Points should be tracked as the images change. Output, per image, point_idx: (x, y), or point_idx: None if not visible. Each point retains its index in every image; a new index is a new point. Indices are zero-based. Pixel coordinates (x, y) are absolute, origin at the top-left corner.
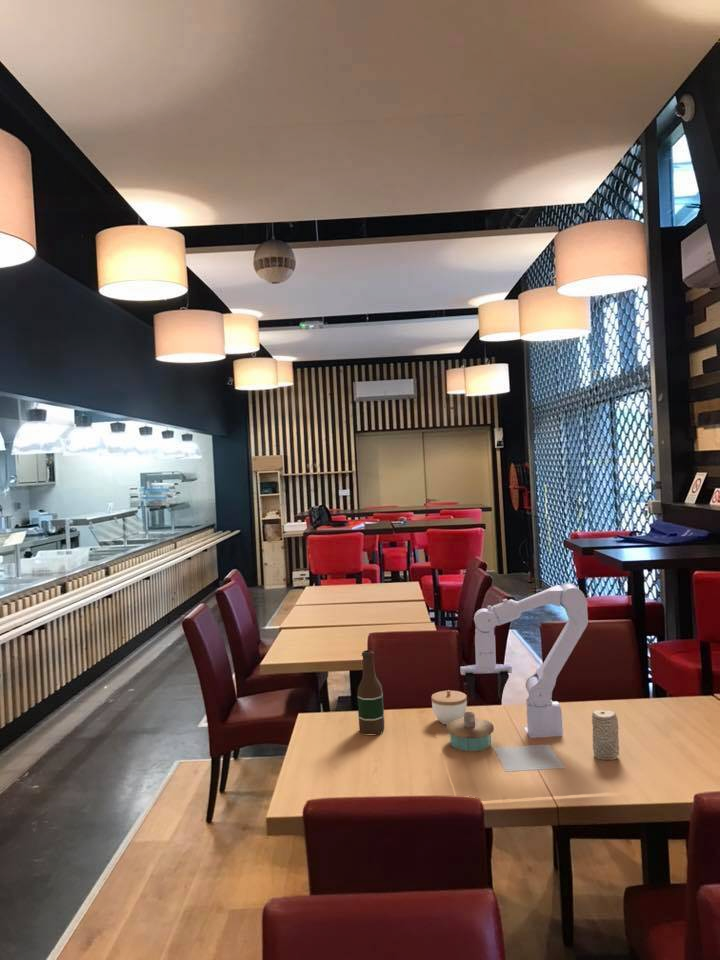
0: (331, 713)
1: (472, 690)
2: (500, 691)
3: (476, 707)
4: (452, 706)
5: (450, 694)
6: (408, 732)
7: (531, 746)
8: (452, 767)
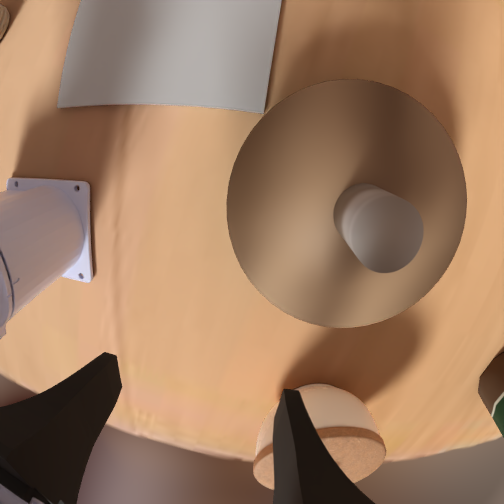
0: (484, 439)
1: (313, 439)
2: (87, 381)
3: (204, 447)
4: (337, 422)
5: None
6: (453, 354)
7: (110, 95)
8: (449, 46)
